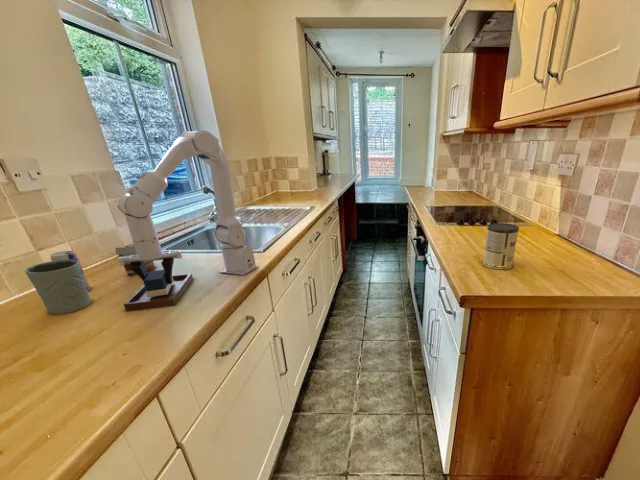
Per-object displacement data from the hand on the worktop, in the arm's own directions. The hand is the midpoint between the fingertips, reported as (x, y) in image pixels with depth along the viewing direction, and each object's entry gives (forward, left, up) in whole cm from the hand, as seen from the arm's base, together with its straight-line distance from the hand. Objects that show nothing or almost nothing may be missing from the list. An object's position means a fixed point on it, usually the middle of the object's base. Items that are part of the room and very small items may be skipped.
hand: (160, 284), depth 93 cm
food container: (+22, -14, -3) cm, 26 cm away
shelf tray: (0, 0, -3) cm, 3 cm away
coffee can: (-98, -49, -3) cm, 110 cm away
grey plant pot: (+17, +13, -3) cm, 22 cm away
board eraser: (0, 0, -1) cm, 1 cm away
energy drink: (+26, +5, -3) cm, 27 cm away
